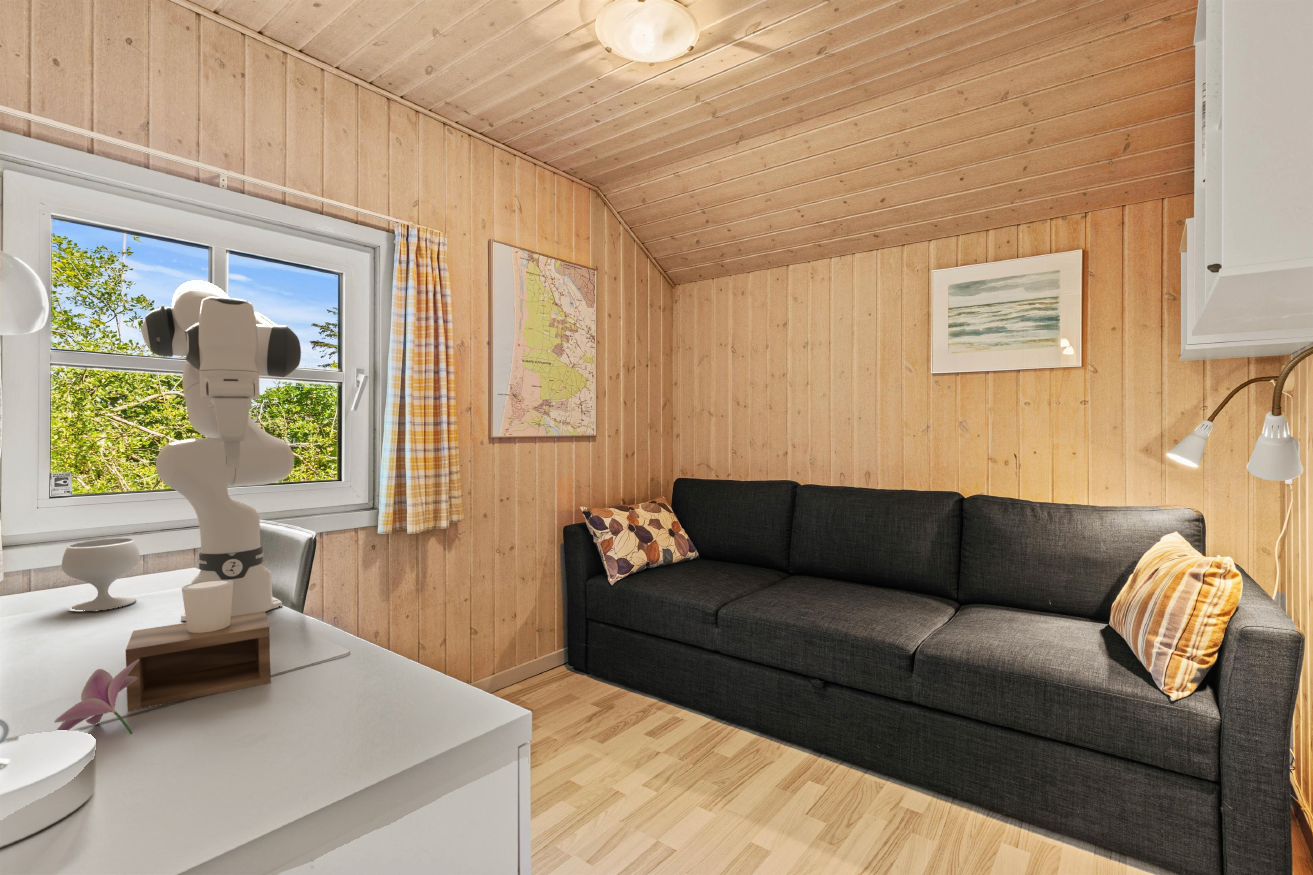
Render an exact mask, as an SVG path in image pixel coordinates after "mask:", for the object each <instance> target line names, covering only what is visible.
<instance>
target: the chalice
mask: <svg viewBox="0 0 1313 875" xmlns="http://www.w3.org/2000/svg"><path fill="white" fill-rule="evenodd" d="M63 553H64V554H63V556H62V560H61V569H62V571H63V573H64V574H65V575H66V576H68V577H70V578H72V579H76V580H79V581H81V582H85V583H88V584H90V585H92V586H93V587H94V588H95V589H96V590H97V596H96V597H95V599H92V600H87V601H84V602H81V603H78V604H74V605H72V606H71V607H72V609H75V610H83V611H84V610H85V611H94V612H97V611H96V610H103V611H108V610H107V609H109V610H113V608H114V609H117V608H118V607H119V608H123V607H126V606H128V605H131V604H134V603H135V602H137V599H136V598H134V597H132V596H130V597H128V596H126V597H125V596H121V597H120V596H117V597H116V596H115V597H113V596H111V595H110V594H109V588H110V587H111V585H112V584H113V583H114V582H115V581H117V580H118V579H120V578H121V577H123V576H124V575H126V574H128V573H130V572H131V571H133V570H134V569H135V568H136V567H138V565H139V563H140V561H141V560H140V559H141V555H140V551H139V548H138V545H137V543H136V541H134V539H132V538H128V537H127V538H126V537H122V538H121V537H118V538H104V539H101V538H100V539H96V540H95V539H93V540H86V541H80V542H75V543H71V544H69V545H67V547H66V549H65V551H64V552H63ZM122 606H123V607H122Z"/></svg>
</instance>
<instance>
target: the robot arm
mask: <svg viewBox="0 0 1313 875" xmlns="http://www.w3.org/2000/svg"><path fill="white" fill-rule="evenodd" d="M174 292H175V293H174V294H173V297H172V303H171V307H170V306H165V304H162V305H160V308H157V309H154V310H152V311H150V312H149V313H147V314H146V316H144V320H143V323H142V326H141V327H142V328H141V334H142V338H143V340H144V342H145V345H146V346H148V347H149V349H150V351H151V353H153V354H155V355H156V356H160V357H170V358H171V357H173V356H177V357H185V361H186V362H185V364H184V365H183V371H182V388H183V396H184V402H185V406H186V411H187V415H188V420H189V424H190V425H191V426H192V428H193V429H194V430H195V431H196V432H197V433H199V434H200V435H202V436H203V438H201V437H200V438H199V437H198V438H187V439H182V440H177V441H173V442H168V443H166V444H165V445H164V446H163V447H162V448H161V449H160V450H159V452H158V455H157V457H156V459H155V460H156V461H155V470H156V473H157V475H158V477H159V479H160V481H162V482H163V483H164V484H165V486H167V487H169V488H171V489H172V490H175V492H177V493H179V494H180V495H182V496H183V497H184V498H185V499H186V500H187V501H188V503H190V505H191V506H192V508H193V509H194V511H195V513H196V516H197V519H198V526H199V533H200V534H199V535H200V549H201V550H200V552H199V554H198V561H197V562H198V569H199V570H200V571H199V573H198V574H197V575H196V576H195V577H194V578H193V579H192V580H191V583H190V584H193V583H197V582H203V581H210V580H232V581H233V594H232V606H231V616H236V615H243V614H250V613H257V612H263V611H265V613H266V612H267V611H270V610H273V609H277V608H280V607H282V606H283V602H282V601H281V600H280V599H279V598H276V597H275V596H273V586H272V585H273V582H272V572H271V571H270V570H269V569H268V568H266V567H265V566H264V564H263V562H264V555H265V554H264V551H263V546H261V525H260V524H261V522H260V520H261V519H260V515H259V513H258V511H257V510H256V509H255V508H254V507H252V506H250V505H248V504H245V503H242V502H240V501H237V500H234V499H232V498H231V497H230V495H229V491H228V488H235V487H237V488H238V487H251V486H252V487H253V486H264V485H268V484H272V483H276V482H282V481H283V480H284V481H285V479H287V478H288V477H289V475H291V472H292V470H293V468H294V463H295V456H294V452H293V450H292V448H291V447H290V445H289V444H288V443H287V442H286V441H285V440H284V439H280V438H278V437H276V436H274V435H271V433H268V432H267V431H265V430H264V429H262V427H260V426H259V425H258V424H257V423H256V422H255V421H254V420H253V419H252V417H251V416H250V409H251V408H252V407H253V406H252V403H253V402H252V400H256V399H260V376H269V377H278V378H279V377H281V378H285V377H287V376H288V375H290V374H291V373H293V372H294V371H296V369H297V368H298V367H299V365H300V362H301V358H302V349H301V343H300V340H299V337H298V336H297V334H296V333H295V332H294V331H293V330H292V329H291V328H290V327H288V326H287V325H279V324H276V323H275V322H274V321H272V320H271V319H269V318H268V317H267V316H265V315H264V314H262V313H260V312H258V311H256V310H255V309H254V306H253V304H252V303H251V302H249V301H248V300H245V299H241V298H231V297H230V296H228V294H226V292H224V290H222V289H221V288H219V287H218V286H217V285H214V284H213V283H210V282H208V281H203V280H191V281H187V282H184V283H183V284H181V285H180V286H179V287H178V288H177V289H176V290H175V291H174ZM279 606H280V607H279ZM180 621H185V622H186V615H185V612H183V613H182V614H181V616H180Z"/></svg>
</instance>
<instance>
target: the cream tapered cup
mask: <svg viewBox="0 0 1313 875" xmlns="http://www.w3.org/2000/svg"><path fill="white" fill-rule="evenodd" d="M181 592H182V599H183V607H184V613H185V615H186V621H185V623H187V629H188V631H189V632H192V633H203V632H211V631H216V630H220V629H223V628H226V627H228V626H229V625H230V619H231V606H232V594H233V581H232V580H210V581H203V582H197V583H193V584H191V583H190V584H187V585H183V586H182V587H181Z"/></svg>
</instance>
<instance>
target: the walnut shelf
mask: <svg viewBox="0 0 1313 875" xmlns="http://www.w3.org/2000/svg"><path fill="white" fill-rule="evenodd" d="M268 621H269V620H268V617H267V614H266V612H265V611H263V612H257V613H250V614H243V615H236V616H231V619H230V625H229V626H228V627H226V628H223V629H220V630H216V631H211V632H203V633H192V632H189V631H188V629H187V622H183V623H177V624H176V623H175V624H170V625H163V626H157V627H156V626H155V627H151V628H149V627H148V628H143V629H136V630H135V629H134V630H133V631H132V633H131V636H130V638H129V641H128V643H127V646H126V649H125V668H126V667H127V666H129V665H130V664H132V663H133V662H135V661H136V660H138V659H140V660H139V661H138V663H137V664H136V665H135V666H134V668H133V669H132V670H131V671H130V673H129V674H128V675H127V676H135V677H137V680H136V681H135V682H133V683H132V684H130V685H129V686H127V687H126V701H127V704H126V705H127V712H130V710H132V711H135V710H134V709H137V710H139V709H140V708H142V709H146V708H145V707H147V708H150V707H149V706H152V707H156V706H155V705H157V706H161V705H160V704H162V705H166V704H165V703H167V704H170V703H169V702H172V703H175V702H174V701H177V702H180V700H182V701H185V700H191V699H195V698H201V697H206V696H210V695H217V694H221V693H226V692H230V691H235V690H240V689H241V690H242V689H245V688H251V687H256V686H260V685H265V684H271V683H272V679H271V678H272V677H271V675H272V674H271V673H272V672H271V671H272V670H271V643H270V641H271V639H270V638H271V637H270V635H271V634H270V625H269V624H270V623H269V622H268ZM140 710H141V709H140Z"/></svg>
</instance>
